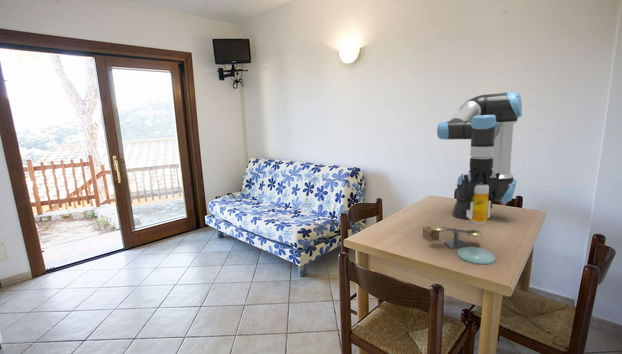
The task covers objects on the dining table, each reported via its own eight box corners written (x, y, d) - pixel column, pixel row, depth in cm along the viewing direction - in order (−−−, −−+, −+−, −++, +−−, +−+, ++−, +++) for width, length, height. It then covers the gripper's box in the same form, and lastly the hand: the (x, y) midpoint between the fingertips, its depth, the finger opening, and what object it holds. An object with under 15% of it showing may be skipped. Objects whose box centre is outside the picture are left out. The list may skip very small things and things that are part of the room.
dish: (481, 248, 122) (481, 245, 122) (502, 263, 109) (503, 260, 109) (451, 250, 122) (451, 247, 121) (468, 265, 109) (469, 262, 109)
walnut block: (431, 235, 138) (431, 225, 137) (439, 239, 133) (439, 229, 132) (422, 237, 137) (422, 227, 136) (429, 241, 132) (430, 231, 131)
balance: (475, 240, 130) (476, 221, 128) (485, 246, 124) (486, 226, 122) (427, 243, 129) (427, 224, 128) (434, 250, 123) (434, 230, 121)
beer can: (465, 219, 115) (467, 182, 113) (479, 218, 116) (482, 181, 113) (475, 224, 110) (477, 185, 107) (490, 223, 110) (493, 184, 107)
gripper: (499, 155, 112) (495, 212, 116) (451, 157, 111) (448, 215, 116) (513, 157, 105) (508, 218, 109) (461, 160, 104) (458, 221, 108)
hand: (477, 216), depth 112 cm, fingers closed on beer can, 6 cm apart
